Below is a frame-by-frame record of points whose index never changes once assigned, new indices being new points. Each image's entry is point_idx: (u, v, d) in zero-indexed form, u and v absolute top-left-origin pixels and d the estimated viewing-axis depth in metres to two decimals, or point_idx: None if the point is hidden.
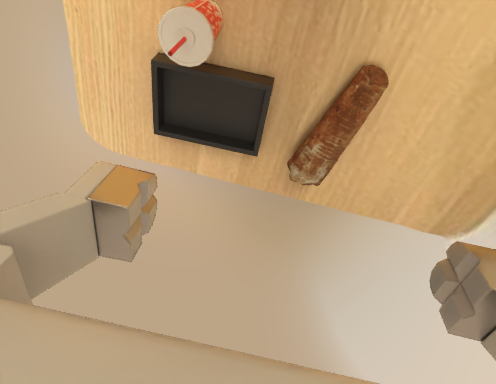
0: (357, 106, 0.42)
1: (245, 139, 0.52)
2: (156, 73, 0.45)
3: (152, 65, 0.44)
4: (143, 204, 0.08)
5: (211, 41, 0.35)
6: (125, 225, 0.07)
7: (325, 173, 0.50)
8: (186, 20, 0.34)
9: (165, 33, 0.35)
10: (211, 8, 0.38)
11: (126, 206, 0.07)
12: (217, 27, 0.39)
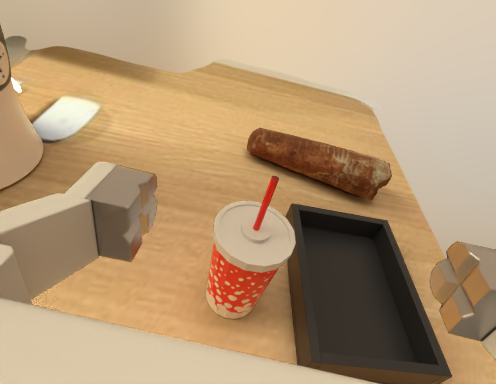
0: (284, 137, 0.44)
1: (375, 249, 0.37)
2: (332, 354, 0.25)
3: (321, 361, 0.24)
4: (143, 204, 0.08)
5: (251, 202, 0.26)
6: (125, 225, 0.07)
7: None
8: (230, 226, 0.24)
9: (254, 255, 0.22)
10: None
11: (126, 206, 0.07)
12: None
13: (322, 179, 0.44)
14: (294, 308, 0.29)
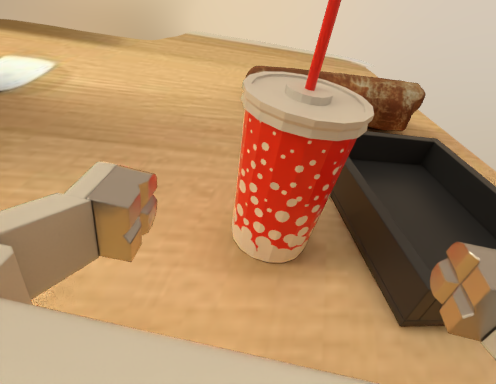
0: (288, 70, 0.36)
1: (429, 175, 0.29)
2: None
3: None
4: (143, 204, 0.08)
5: (288, 73, 0.17)
6: (125, 225, 0.07)
7: None
8: (270, 90, 0.15)
9: (321, 115, 0.13)
10: None
11: (126, 206, 0.07)
12: None
13: None
14: (361, 240, 0.20)
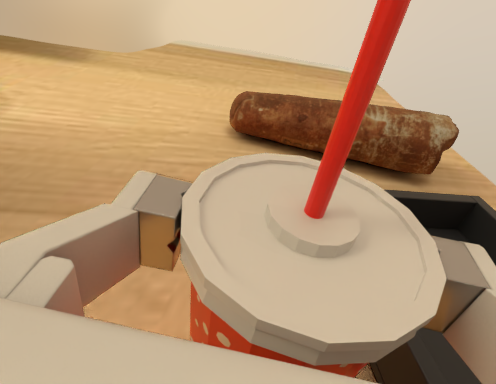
0: (285, 98, 0.29)
1: None
2: None
3: None
4: None
5: (276, 155, 0.10)
6: (170, 235, 0.07)
7: None
8: (235, 218, 0.07)
9: (340, 303, 0.06)
10: None
11: (173, 216, 0.07)
12: None
13: (351, 153, 0.29)
14: None
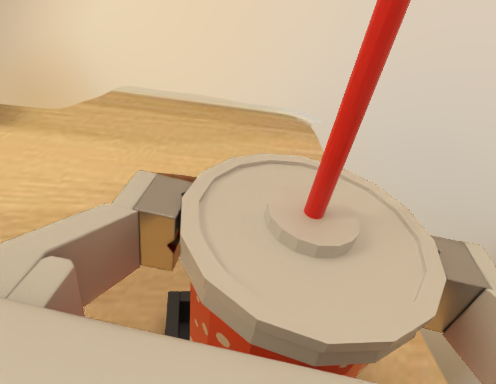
0: None
1: None
2: None
3: None
4: None
5: (276, 155, 0.10)
6: (170, 235, 0.07)
7: None
8: (235, 218, 0.07)
9: (340, 304, 0.06)
10: None
11: (173, 216, 0.07)
12: None
13: None
14: None
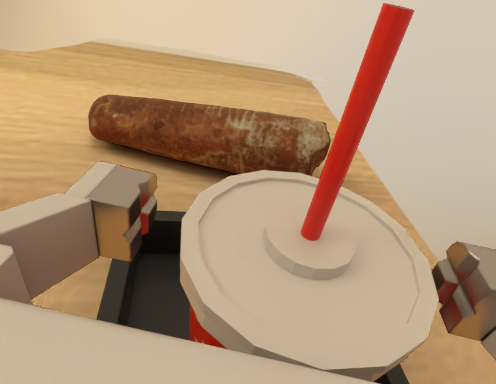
0: (145, 102, 0.25)
1: None
2: None
3: None
4: (143, 204, 0.08)
5: (274, 172, 0.10)
6: (125, 225, 0.07)
7: None
8: (234, 240, 0.08)
9: (335, 327, 0.06)
10: None
11: (127, 206, 0.07)
12: None
13: (219, 165, 0.25)
14: None
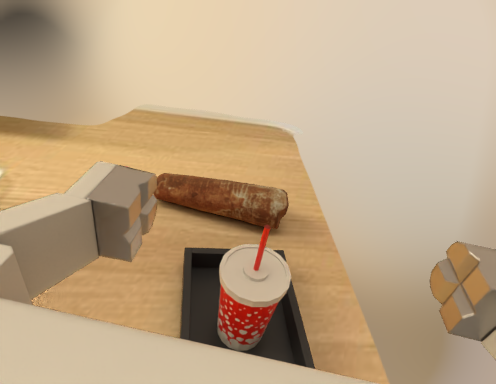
0: (186, 180, 0.45)
1: None
2: None
3: None
4: (143, 204, 0.08)
5: (248, 245, 0.30)
6: (125, 225, 0.07)
7: None
8: (234, 270, 0.27)
9: (258, 293, 0.26)
10: None
11: (127, 206, 0.07)
12: None
13: (227, 215, 0.45)
14: None
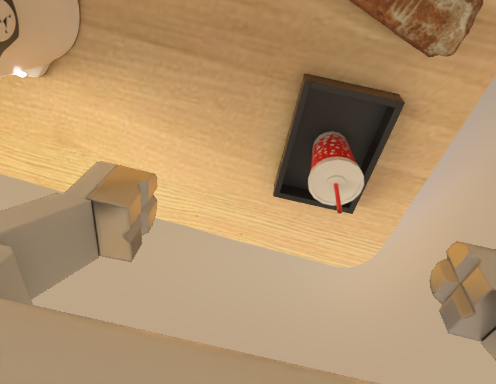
0: None
1: (383, 113, 0.40)
2: (285, 194, 0.46)
3: (278, 196, 0.47)
4: (143, 204, 0.08)
5: (341, 161, 0.35)
6: (125, 225, 0.07)
7: None
8: (320, 179, 0.37)
9: (329, 198, 0.38)
10: (319, 145, 0.40)
11: (127, 206, 0.07)
12: (335, 144, 0.39)
13: None
14: (282, 156, 0.45)
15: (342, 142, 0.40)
